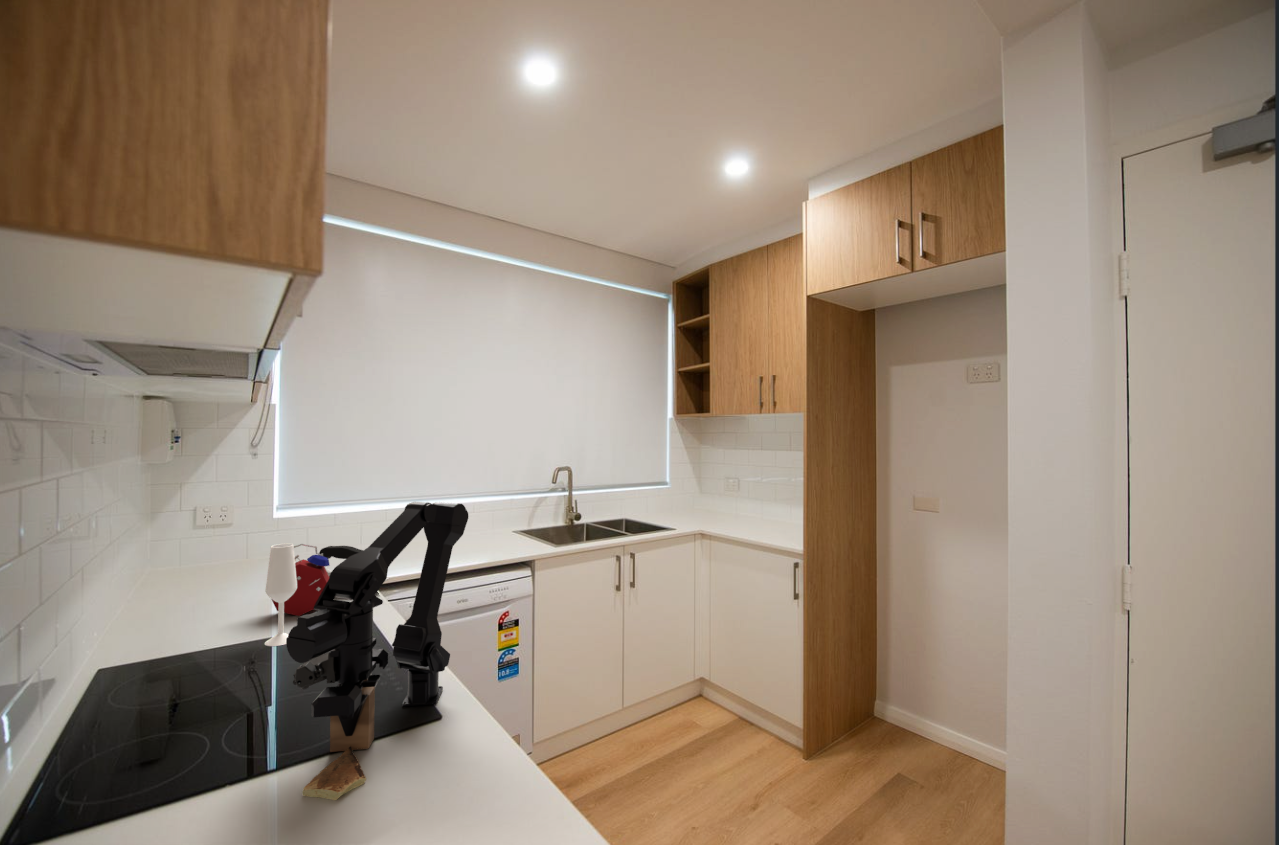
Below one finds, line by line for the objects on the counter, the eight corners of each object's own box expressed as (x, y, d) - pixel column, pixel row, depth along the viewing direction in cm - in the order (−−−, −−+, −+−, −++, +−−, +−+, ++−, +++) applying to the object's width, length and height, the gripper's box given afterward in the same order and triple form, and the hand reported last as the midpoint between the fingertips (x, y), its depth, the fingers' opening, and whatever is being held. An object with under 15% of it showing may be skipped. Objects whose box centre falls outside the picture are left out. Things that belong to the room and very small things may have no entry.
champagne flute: (302, 635, 139) (303, 542, 139) (285, 646, 132) (286, 548, 133) (276, 635, 139) (277, 542, 139) (258, 646, 132) (259, 548, 133)
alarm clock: (331, 606, 162) (332, 539, 162) (327, 615, 154) (328, 545, 154) (272, 612, 156) (274, 543, 156) (265, 622, 148) (266, 549, 148)
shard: (350, 755, 90) (350, 744, 90) (391, 759, 89) (391, 748, 89) (299, 799, 79) (299, 787, 79) (346, 805, 78) (346, 792, 78)
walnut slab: (337, 740, 93) (337, 688, 93) (374, 737, 94) (375, 686, 94) (329, 752, 90) (330, 698, 90) (368, 748, 91) (369, 695, 91)
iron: (372, 599, 169) (372, 551, 169) (297, 597, 170) (298, 550, 170) (389, 589, 180) (390, 544, 180) (319, 587, 181) (320, 542, 181)
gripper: (325, 620, 99) (324, 705, 99) (274, 665, 81) (273, 769, 81) (389, 618, 101) (388, 701, 101) (353, 660, 83) (352, 762, 83)
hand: (352, 730), depth 92 cm, fingers closed on walnut slab, 3 cm apart
